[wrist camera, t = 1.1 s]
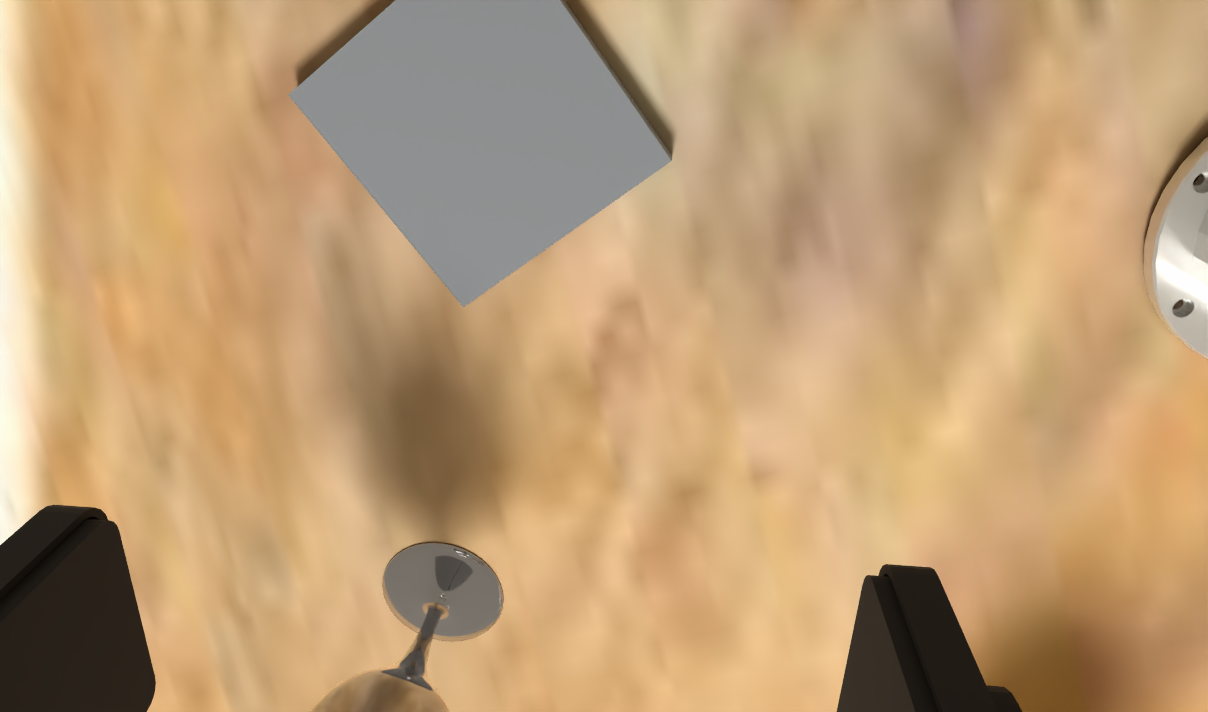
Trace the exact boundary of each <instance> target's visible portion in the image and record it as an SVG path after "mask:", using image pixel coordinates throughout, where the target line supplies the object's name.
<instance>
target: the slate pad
mask: <svg viewBox="0 0 1208 712" xmlns="http://www.w3.org/2000/svg"><path fill="white" fill-rule="evenodd" d="M289 96H290V98H291V99H292V100H293V101H294V103H295V104H296V105H297V106H298V107H299V109H300V110H301V111H302V112H303V113H304V115H305V116H306V117H307V118H308V119H309V121H310V122H311V123H312V124H313V126H314V127H315V128H316V129H317V130H318V132H319V133H320V134H321V135H322V136H323V138H324V139H325V140H326V141H327V143H328V144H329V145H330V146H331V147H332V149H333V150H334V151H335V152H336V153H337V155H338V156H339V157H340V158H341V159H342V161H343V162H344V163H345V164H346V166H347V167H348V168H349V169H350V170H351V172H352V173H353V174H354V175H355V176H356V178H357V179H358V180H359V181H360V183H361V184H362V185H363V186H364V187H365V189H366V190H367V191H368V192H369V193H370V195H371V196H372V197H373V198H374V199H375V201H376V202H377V203H378V204H379V206H380V207H381V208H382V209H383V210H384V212H385V213H386V214H387V215H388V216H389V218H390V219H391V220H392V221H393V223H394V224H395V225H396V226H397V227H398V229H399V230H400V231H401V232H402V233H403V235H404V236H405V237H406V238H407V239H408V241H409V242H410V243H411V244H412V246H413V247H414V248H415V249H416V250H417V252H418V253H419V254H420V255H421V256H422V258H423V259H424V260H425V261H426V263H427V264H428V265H429V266H430V267H431V269H432V270H433V271H434V272H435V273H436V275H437V276H438V277H439V278H440V279H441V281H442V282H443V283H444V284H445V286H446V287H447V288H448V289H449V290H450V292H451V293H452V294H453V295H454V296H455V298H456V299H457V300H458V301H459V303H460V304H461V305H462V306H463V307H464V306H466V305H467V304H469V303H470V302H472V301H473V300H474V299H476V298H477V297H479V296H480V295H481V294H483V293H484V292H486V291H487V290H489V289H490V288H491V287H493V286H494V285H496V284H497V283H499V282H500V281H501V280H503V279H504V278H506V277H507V276H509V275H510V274H511V273H513V272H514V271H516V270H517V269H518V268H520V267H521V266H523V265H524V264H526V263H527V262H528V261H530V260H531V259H533V258H534V257H536V256H537V255H538V254H540V253H541V252H543V251H544V250H546V249H547V248H548V247H550V246H551V245H553V244H554V243H555V242H557V241H558V240H560V239H561V238H563V237H564V236H565V235H567V234H568V233H570V232H571V231H573V230H574V229H575V228H577V227H578V226H580V225H581V224H583V223H584V222H585V221H587V220H588V219H590V218H591V217H592V216H594V215H595V214H597V213H598V212H600V211H601V210H602V209H604V208H605V207H607V206H608V205H610V204H611V203H612V202H614V201H615V200H617V199H618V198H620V197H621V196H622V195H624V194H625V193H627V192H628V191H629V190H631V189H632V188H634V187H635V186H637V185H638V184H639V183H641V182H642V181H644V180H645V179H647V178H648V177H649V176H651V175H652V174H654V173H655V172H657V171H658V170H659V169H661V168H662V167H664V166H665V165H666V164H668V163H669V162H671V161H672V155H671V154H670V152H669V151H668V149H667V148H666V147H665V145H664V144H663V142H662V141H661V139H660V138H659V136H658V135H657V134H656V132H655V131H654V129H653V128H652V126H651V125H650V123H649V122H648V121H647V119H646V118H645V116H644V115H643V113H642V112H641V110H640V109H639V108H638V106H637V105H636V103H635V102H634V100H633V99H632V97H631V96H630V95H629V93H628V92H627V90H626V89H625V87H624V86H623V84H622V83H621V82H620V80H619V79H618V77H617V76H616V74H615V73H614V71H613V70H612V69H611V67H610V66H609V64H608V63H607V61H606V60H605V58H604V57H603V56H602V54H601V53H600V51H599V50H598V48H597V47H596V45H595V44H594V43H593V41H592V40H591V38H590V37H589V35H588V34H587V32H586V31H585V30H584V28H583V27H582V25H581V24H580V22H579V21H578V19H577V18H576V17H575V15H574V14H573V12H572V11H571V9H570V8H569V6H568V5H567V4H566V2H565V1H564V0H395V1H394V2H393V3H392V4H390V5H389V6H388V7H387V8H386V9H385V10H384V11H383V12H381V13H380V14H379V15H378V16H377V17H376V18H375V19H374V20H372V21H371V22H370V23H369V24H368V25H367V26H366V27H364V28H363V29H362V30H361V31H360V32H359V33H358V34H357V35H355V36H354V37H353V38H352V39H351V40H350V41H349V42H348V43H346V44H345V45H344V46H343V47H342V48H341V49H340V50H338V51H337V52H336V53H335V54H334V55H333V56H332V57H331V58H329V59H328V60H327V61H326V62H325V63H324V64H323V65H322V66H320V67H319V68H318V69H317V70H316V71H315V72H314V73H313V74H311V75H310V76H309V77H308V78H307V79H306V80H305V81H303V82H302V83H301V84H300V85H299V86H298V87H297V88H296V89H294V90H293V91H292V92H291V93H290V94H289Z"/></svg>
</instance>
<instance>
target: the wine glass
mask: <svg viewBox="0 0 1208 712" xmlns="http://www.w3.org/2000/svg"><path fill="white" fill-rule="evenodd" d="M382 587H383V593H384V597H385V600H386V603H387V604H388V606H389V608H390V610H391V611H392V613H393V614H394V615H395V616H396V617H397V619H398V620H400V621H401V622H402V623H403V624H404V625H405V626H407V627H408V628H410V629H411V630H413V631H414V632H417V633H418V634H417V636H416V638H415V640H414V641H413V643H412V645H411V646H410V648H409V649H408V651H407V652H406V654H405V655H404V657H403V658H402V659H401V660H400V661H398V662H397V663H396V664H394V665H392V666H389V667H385V668H380V669H375V670H370V671H366V672H362V673H359V674H357V675H354V676H352V677H350V678H347V679H345V680H343V681H342V682H340V683H339V684H337V685H336V686H334V687H333V688H332V689H331V690H330V691H328V692H327V693H326V694H325V695H324V696H323V697H322V698H321V699H320V700H319V702H318V703H317V704H316V705H315V706H314V707H313V708H312V709H311V710H310V711H309V712H450V710H449V708H448V706H447V705H446V703H445V701H444V699H443V698H442V697H441V695H440V694H439V693H438V691H437V690H436V689H435V687H434V686H433V685H432V683H431V682H430V680H429V678H428V674H427V661H428V656H429V651H430V647H431V642H432V639H436V640H441V641H452V642H453V641H464V640H468V639H472V638H475V637H477V636H479V635H481V634H483V633H485V632H486V631H488V630H489V629H490V628H491V627H492V626H493V625H494V624H495V623H496V621H497V620H498V618H499V617H500V614H501V611H502V608H503V601H504V600H503V591H502V588H501V584H500V582H499V580H498V578H497V576H496V575H495V573H494V572H493V571H492V569H491V568H490V567H489V566H488V565H487V564H486V563H485V562H484V561H483V560H482V559H480V558H479V557H477V556H476V555H475V554H473V553H471V552H469V551H467V550H465V549H463V548H460V547H457V546H454V545H450V544H445V543H433V542H431V543H421V544H417V545H413V546H410V547H408V548H406V549H404V550H402V551H401V552H399V553H398V554H397V555H395V556H394V557H393V558H392V560H391V561H390V562H389V564H388V565H387V567H386V569H385V572H384V575H383V583H382Z"/></svg>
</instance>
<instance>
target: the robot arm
mask: <svg viewBox="0 0 1208 712" xmlns="http://www.w3.org/2000/svg"><path fill="white" fill-rule="evenodd" d="M1198 175H1199V178H1198V180H1197V181H1196V182H1195V183H1193V182H1194V180H1195V178H1196V177H1197V176H1198ZM1143 271H1144V276H1145V281H1146V287H1147V292H1148V295H1149V297H1150V300H1151V302H1152V304H1153V306H1154V308H1155V311H1156V313H1157V315H1158V316H1159V318H1160V319H1161V320H1162V321H1163V323H1164V324H1165V325H1166V326H1167V328H1168V329H1169V330H1170V331H1171V333H1172V334H1173V335H1175V336H1176V337H1177V338H1178V339H1180V340H1181V341H1182V342H1183V343H1184V344H1186V345H1187V346H1188V347H1189V348H1190V349H1192V350H1194V351H1195V352H1197V353H1199V354H1200V355H1202V356H1203V357H1205V358H1207V359H1208V137H1206V138H1205V139H1204V140H1203V141H1202V142H1201V143H1200V144H1199V146H1198V147H1197V148H1196V149H1195V150H1194V151H1193V152H1192V153H1191V154H1190V155H1189V156H1188V157H1187V158H1186V159H1185V160H1184V161H1183V163H1182V164H1181V165H1180V167H1179V168H1178V170H1177V171H1176V173H1175V174H1174V175H1173V177H1172V178H1171V180H1170V181H1169V183H1168V184H1167V186H1166V187H1165V189H1164V190H1163V192H1162V195H1161V197H1160V199H1159V201H1158V203H1157V205H1156V208H1155V210H1154V212H1153V214H1152V216H1151V220H1150V224H1149V228H1148V232H1147V236H1146V240H1145V244H1144V266H1143ZM1176 302H1177V303H1176ZM1175 303H1176V304H1175ZM1174 304H1175V305H1174ZM155 684H156V682H155V675H154V671H153V667H152V663H151V659H150V655H149V651H148V647H147V643H146V638H145V634H144V630H143V626H142V622H141V618H140V614H139V610H138V606H137V602H136V598H135V594H134V589H133V585H132V581H131V577H130V573H129V569H128V565H127V561H126V557H125V553H124V549H123V545H122V541H121V536H120V532H119V529H118V527H117V525H116V524H115V523H114V522H112V521H109V520H108V519H107V516H106V514H105V513H104V512H103V511H102V510H100V509H97V508H91V507H77V506H63V505H51V506H47V507H45V508H44V509H42V510H40V511H39V512H38V513H37V514H36V515H35V516H33V517H32V518H31V519H30V520H29V521H28V522H26V523H25V524H24V525H23V526H22V527H21V528H20V529H18V530H17V531H16V532H15V533H14V534H13V535H12V536H10V537H9V538H8V539H7V540H6V541H5V542H4V543H2V544H1V545H0V712H147V710H148V708H149V706H150V705H151V702H152V699H153V696H154V692H155ZM837 712H1022V711H1021V709H1020V707H1019V705H1018V703H1017V701H1016V700H1015V698H1014V696H1013V695H1012V693H1011V692H1010V691H1008V690H1007V689H1006V688H1005V687H998V686H986V684H985V682H984V679H983V677H982V675H981V673H980V670H979V668H978V666H977V663H976V661H975V659H974V657H973V654H972V652H971V650H970V647H969V645H968V643H967V641H966V638H965V636H964V634H963V632H962V629H961V627H960V625H959V622H958V620H957V618H956V616H955V613H954V611H953V609H952V607H951V604H950V602H949V600H948V597H947V595H946V593H945V591H944V588H943V586H942V584H941V581H940V579H939V577H938V575H937V573H936V572H935V570H934V569H932V568H930V567H916V566H902V565H888V564H886V565H883V566H882V568H881V570H880V573H879V576H871V575H868V576H866V577H865V579H864V582H863V586H862V591H861V596H860V600H859V605H858V610H857V615H856V620H855V625H854V630H853V635H852V640H851V645H850V650H849V654H848V659H847V664H846V669H845V674H844V679H843V684H842V689H841V694H840V699H839V703H838V708H837Z"/></svg>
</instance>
